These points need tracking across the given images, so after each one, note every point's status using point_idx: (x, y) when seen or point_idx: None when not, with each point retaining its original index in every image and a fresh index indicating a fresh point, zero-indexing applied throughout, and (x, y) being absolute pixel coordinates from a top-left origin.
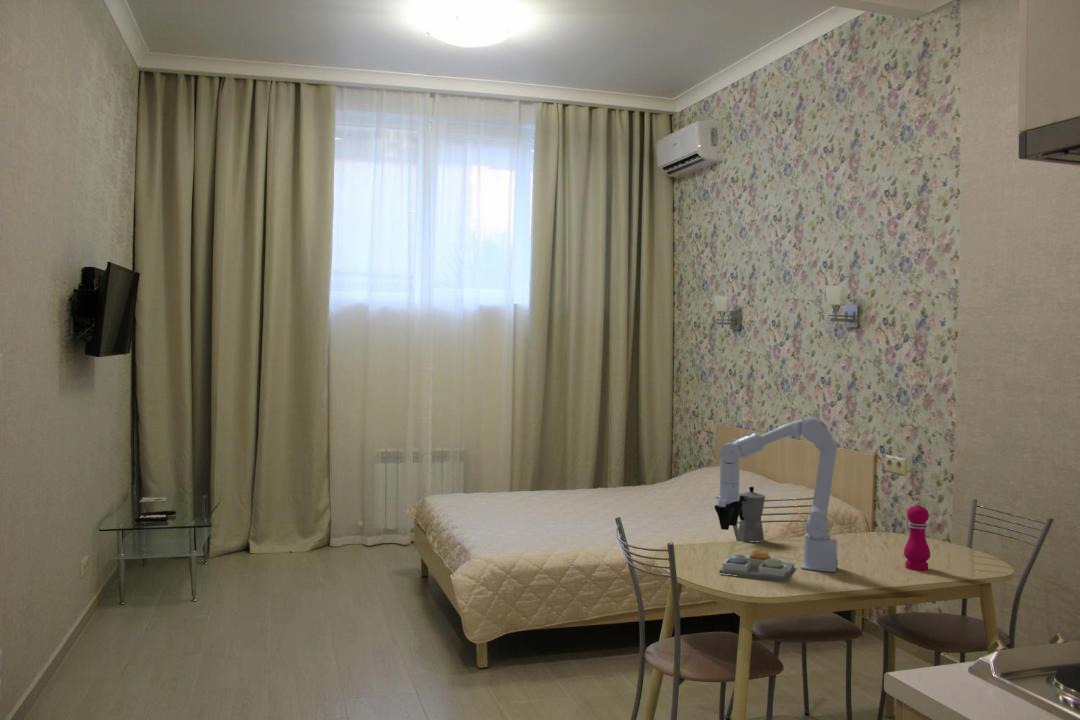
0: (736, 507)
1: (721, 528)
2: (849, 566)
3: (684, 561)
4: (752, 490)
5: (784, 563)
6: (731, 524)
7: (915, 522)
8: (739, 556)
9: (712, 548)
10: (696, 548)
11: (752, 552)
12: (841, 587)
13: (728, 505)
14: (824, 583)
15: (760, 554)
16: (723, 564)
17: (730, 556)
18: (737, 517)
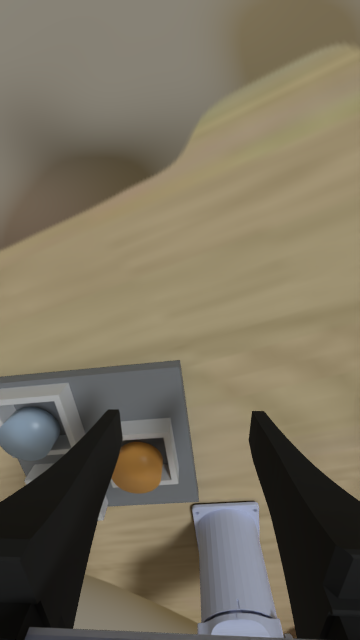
0: (295, 582)
1: (105, 414)
2: (279, 560)
3: (60, 227)
4: None
5: (183, 486)
6: (251, 427)
7: None
8: (30, 445)
9: (347, 238)
10: (317, 176)
11: (123, 458)
12: (91, 565)
13: (312, 550)
14: (99, 545)
15: (112, 479)
16: None
17: (7, 426)
18: (265, 496)
